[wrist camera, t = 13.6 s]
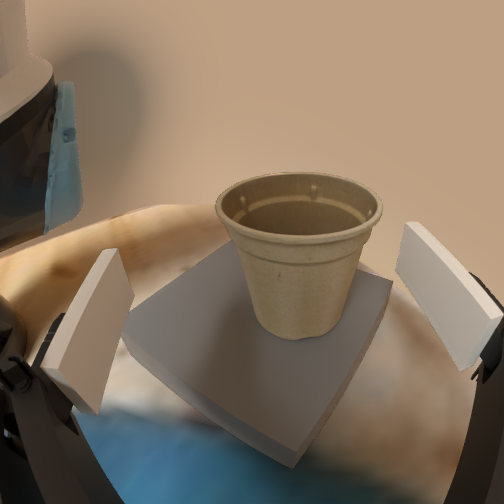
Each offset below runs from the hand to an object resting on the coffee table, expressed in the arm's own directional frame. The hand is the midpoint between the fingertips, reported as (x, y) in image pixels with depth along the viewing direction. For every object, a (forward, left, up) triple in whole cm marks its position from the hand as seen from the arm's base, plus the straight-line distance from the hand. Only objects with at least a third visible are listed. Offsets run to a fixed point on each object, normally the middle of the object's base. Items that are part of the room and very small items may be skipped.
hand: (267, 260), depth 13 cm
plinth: (-4, +4, -12) cm, 13 cm away
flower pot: (-1, +5, -8) cm, 9 cm away
